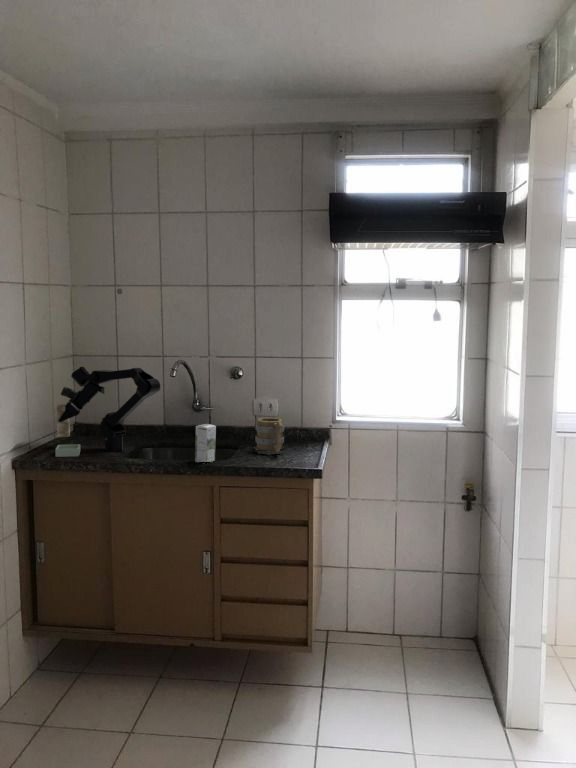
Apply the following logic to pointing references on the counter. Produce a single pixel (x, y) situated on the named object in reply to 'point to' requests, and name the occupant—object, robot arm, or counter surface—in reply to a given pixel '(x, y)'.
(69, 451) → the holder
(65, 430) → the birch block
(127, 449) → the counter surface
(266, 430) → the tankard
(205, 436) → the syrup box
